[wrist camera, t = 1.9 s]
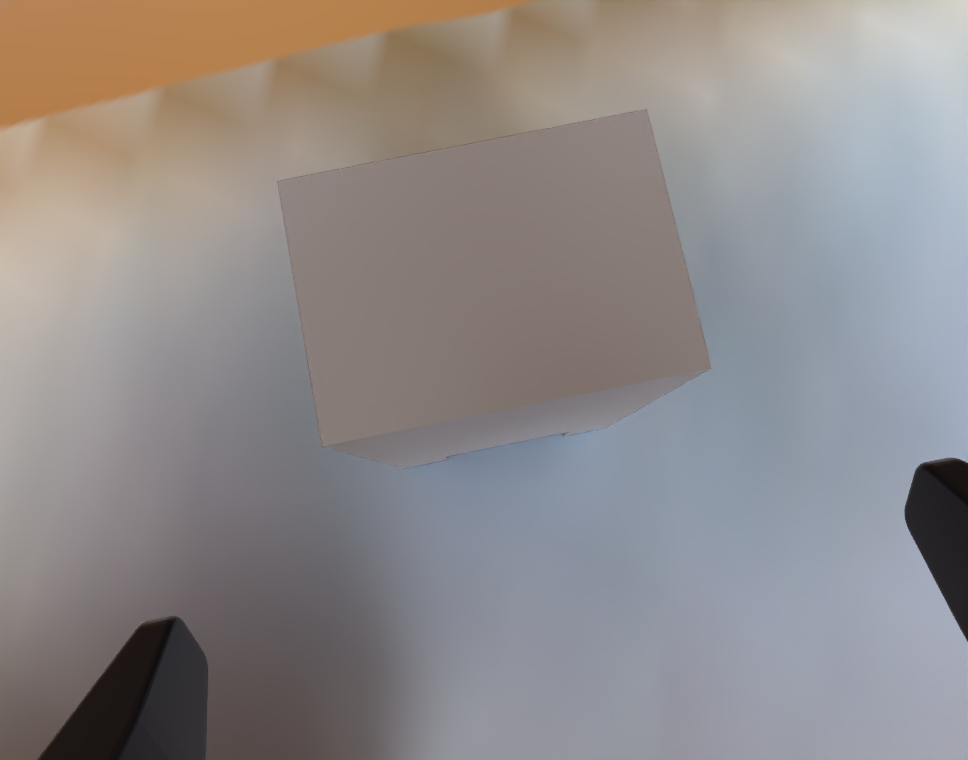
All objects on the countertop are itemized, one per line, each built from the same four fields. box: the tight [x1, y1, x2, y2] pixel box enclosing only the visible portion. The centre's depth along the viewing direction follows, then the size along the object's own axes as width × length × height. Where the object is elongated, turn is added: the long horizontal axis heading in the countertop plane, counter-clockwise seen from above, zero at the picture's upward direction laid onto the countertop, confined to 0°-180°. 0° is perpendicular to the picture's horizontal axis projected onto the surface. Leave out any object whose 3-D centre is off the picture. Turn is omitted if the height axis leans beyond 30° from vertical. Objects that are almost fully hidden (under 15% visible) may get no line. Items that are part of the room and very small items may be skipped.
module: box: [277, 109, 711, 468], centre depth 16 cm, size 4×6×10 cm
